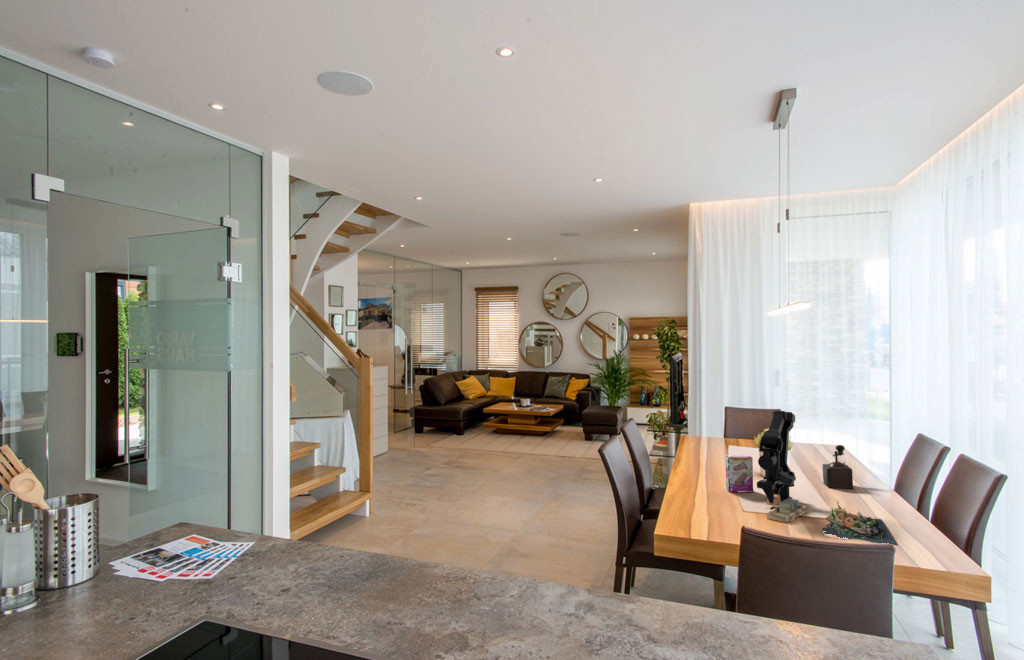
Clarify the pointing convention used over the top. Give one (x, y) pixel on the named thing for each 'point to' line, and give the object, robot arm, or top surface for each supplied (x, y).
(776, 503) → the terracotta block
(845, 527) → the plated dish
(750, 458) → the candy bar box
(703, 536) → the top surface
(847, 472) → the manual coffee grinder
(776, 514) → the block frame
